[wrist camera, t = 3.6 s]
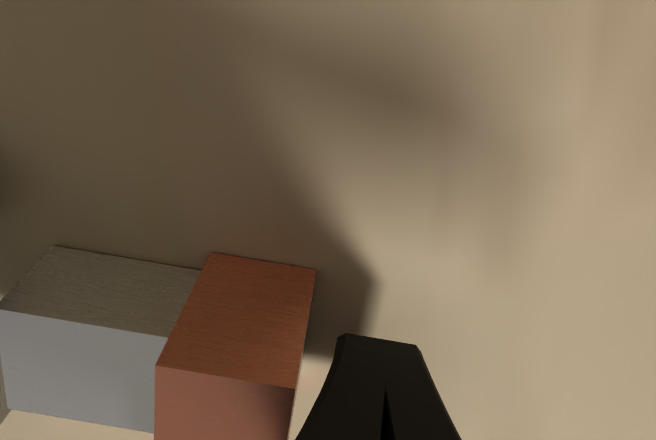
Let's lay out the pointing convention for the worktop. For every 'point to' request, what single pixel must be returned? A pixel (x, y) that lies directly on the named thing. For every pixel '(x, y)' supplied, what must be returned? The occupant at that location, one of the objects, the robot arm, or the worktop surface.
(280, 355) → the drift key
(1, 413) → the socket
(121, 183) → the worktop surface
